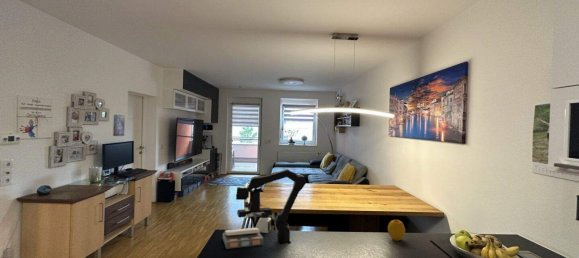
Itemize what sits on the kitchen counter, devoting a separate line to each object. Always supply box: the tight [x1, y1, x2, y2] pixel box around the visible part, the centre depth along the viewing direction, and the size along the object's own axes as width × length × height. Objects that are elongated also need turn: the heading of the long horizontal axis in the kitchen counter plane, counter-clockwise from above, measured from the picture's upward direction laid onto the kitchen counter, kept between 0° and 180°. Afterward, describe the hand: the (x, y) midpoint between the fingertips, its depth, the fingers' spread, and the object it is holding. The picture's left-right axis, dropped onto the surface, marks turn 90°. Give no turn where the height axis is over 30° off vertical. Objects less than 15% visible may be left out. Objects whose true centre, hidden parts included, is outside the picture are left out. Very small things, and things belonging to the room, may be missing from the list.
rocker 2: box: [236, 228, 249, 235], centre depth 171 cm, size 6×8×2 cm
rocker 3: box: [246, 227, 261, 234], centre depth 173 cm, size 6×8×2 cm
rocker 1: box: [224, 229, 238, 236], centre depth 169 cm, size 6×8×2 cm
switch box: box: [222, 232, 264, 250], centre depth 170 cm, size 20×14×4 cm
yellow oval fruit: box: [387, 219, 406, 242], centre depth 179 cm, size 10×10×12 cm
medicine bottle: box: [256, 213, 272, 234], centre depth 188 cm, size 7×7×12 cm
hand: (254, 227), depth 170 cm, fingers closed
